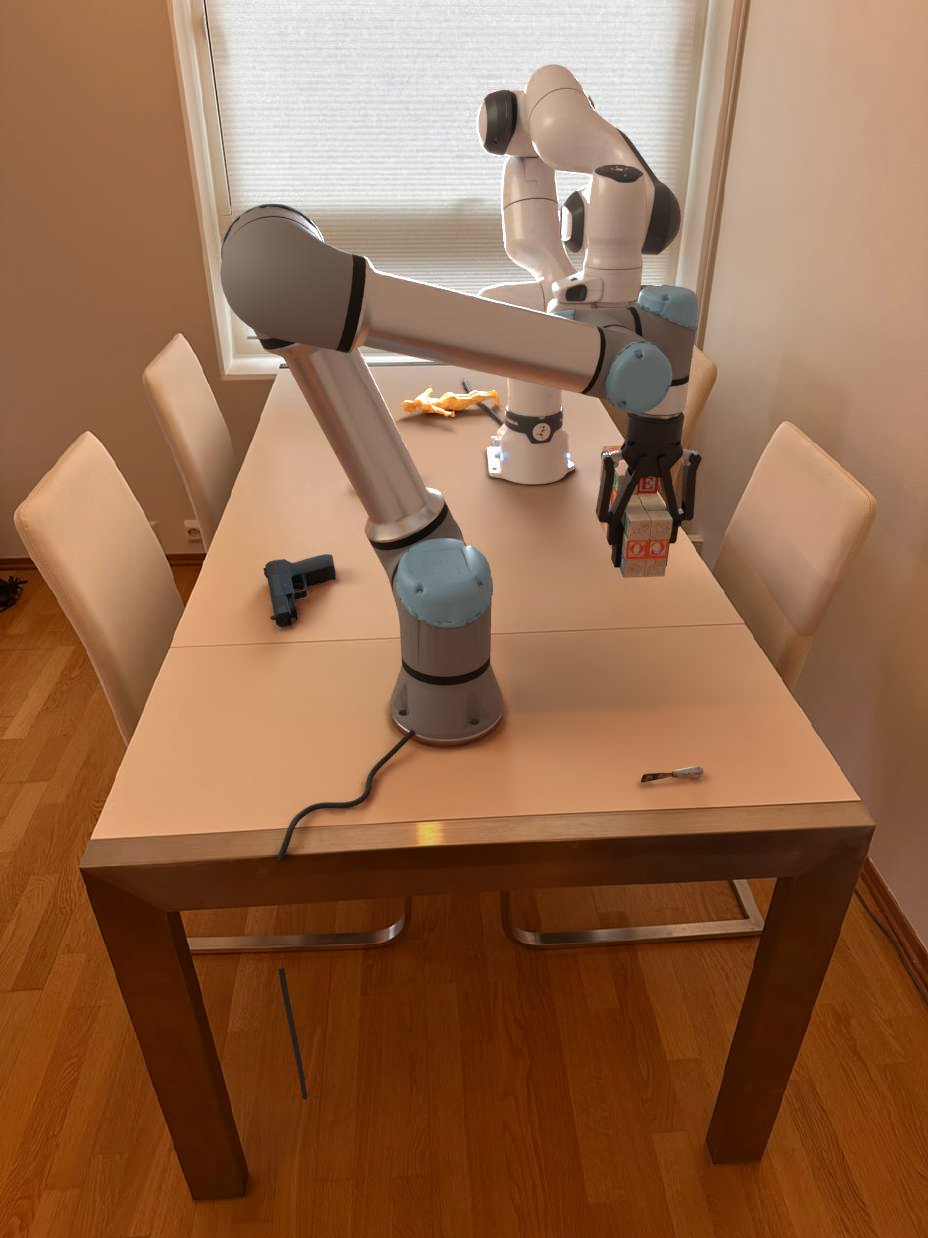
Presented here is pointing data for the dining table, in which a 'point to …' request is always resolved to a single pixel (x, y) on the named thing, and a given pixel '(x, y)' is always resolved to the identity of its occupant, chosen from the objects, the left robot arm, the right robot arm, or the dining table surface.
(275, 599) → the handgun
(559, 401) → the right robot arm
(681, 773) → the putty knife
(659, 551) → the stack of blocks
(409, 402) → the human figure
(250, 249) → the left robot arm
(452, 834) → the dining table surface
